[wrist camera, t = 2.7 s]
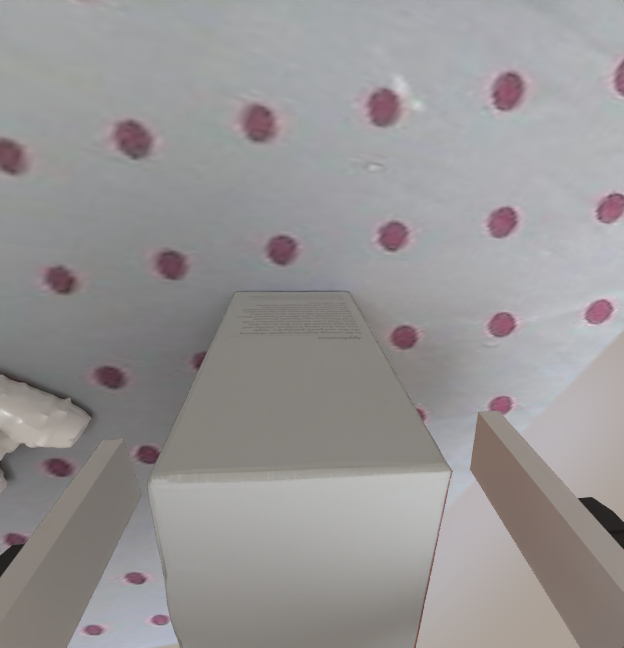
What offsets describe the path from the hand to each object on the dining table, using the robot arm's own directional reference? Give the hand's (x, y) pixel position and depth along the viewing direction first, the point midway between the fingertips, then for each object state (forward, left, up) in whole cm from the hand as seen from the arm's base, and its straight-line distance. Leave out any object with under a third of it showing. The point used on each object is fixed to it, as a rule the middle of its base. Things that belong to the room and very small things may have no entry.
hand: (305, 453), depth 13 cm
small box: (0, 0, -8) cm, 8 cm away
